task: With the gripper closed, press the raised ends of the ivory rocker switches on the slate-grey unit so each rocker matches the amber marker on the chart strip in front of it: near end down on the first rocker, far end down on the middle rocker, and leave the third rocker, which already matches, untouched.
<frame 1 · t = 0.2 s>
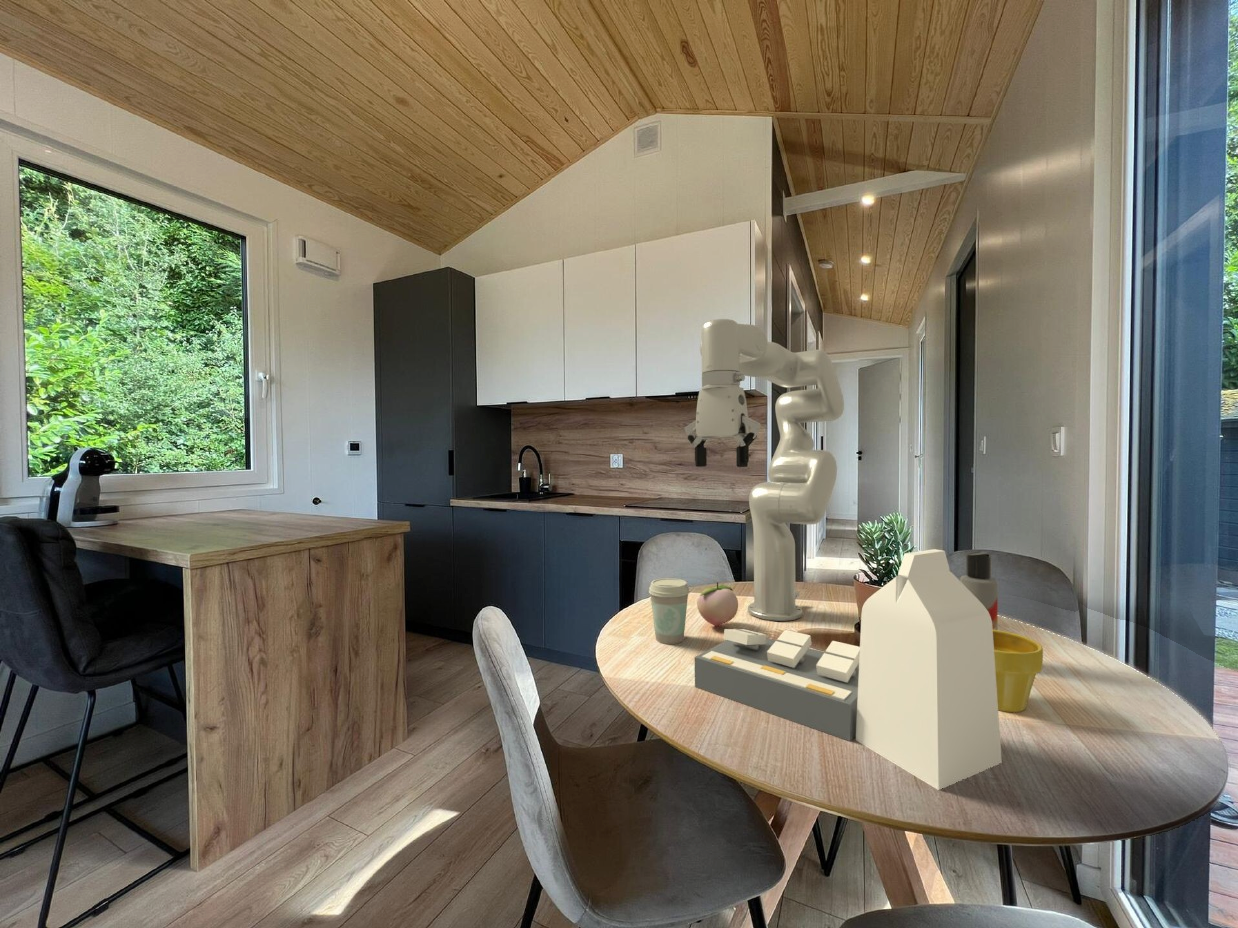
hand: (720, 466, 106), 36 cm above the table, tool pointing down, fingers open, 9 cm apart
rocker b: (789, 647, 85), point 7 cm above the table, hinge at 15.0°
milk: (925, 752, 67), on the table
decorative fruit: (719, 627, 116), on the table
rocker a: (745, 636, 90), point 7 cm above the table, hinge at -15.0°
coffee cup: (669, 640, 109), on the table
switch unit: (787, 692, 84), on the table
rocker c: (839, 660, 79), point 7 cm above the table, hinge at 15.0°
plant pot: (999, 703, 80), on the table
lotion bottle: (978, 660, 96), on the table
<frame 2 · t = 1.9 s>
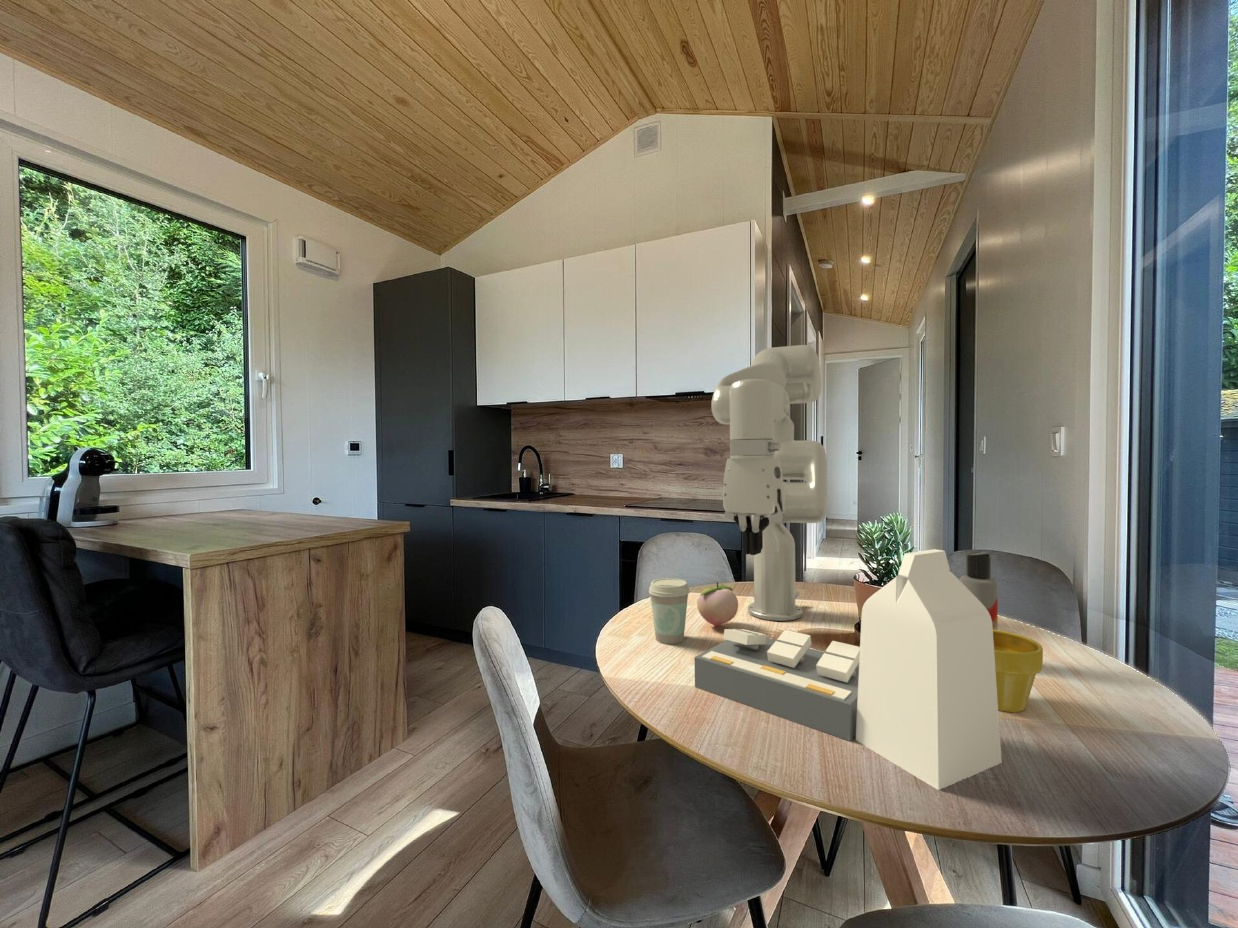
hand: (752, 553, 92), 21 cm above the table, tool pointing down, fingers closed
nothing on the table moved.
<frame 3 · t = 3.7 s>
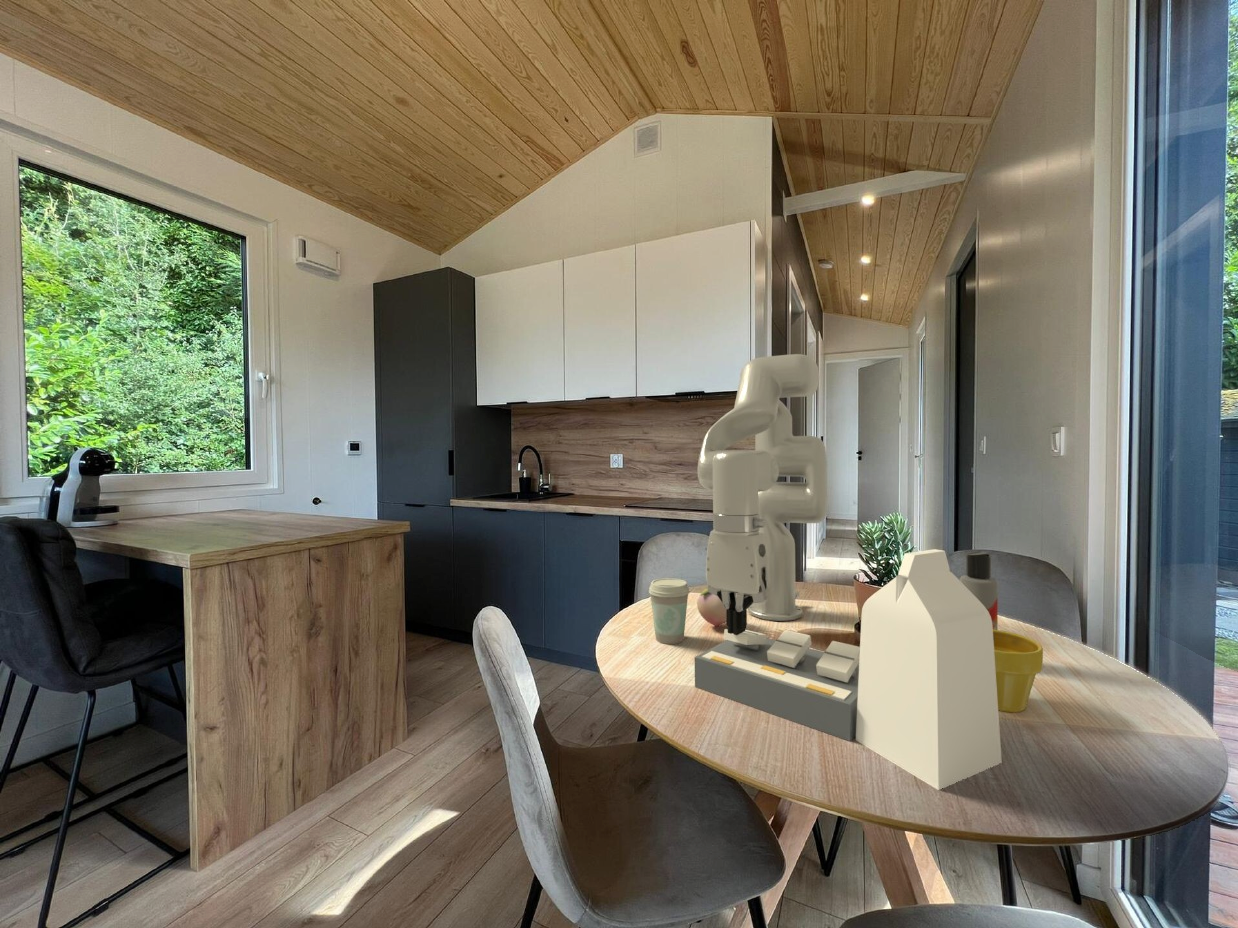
hand: (736, 631, 88), 9 cm above the table, tool pointing down, fingers closed
rocker a: (745, 636, 90), point 7 cm above the table, hinge at -15.0°, touching gripper
everything else where it was.
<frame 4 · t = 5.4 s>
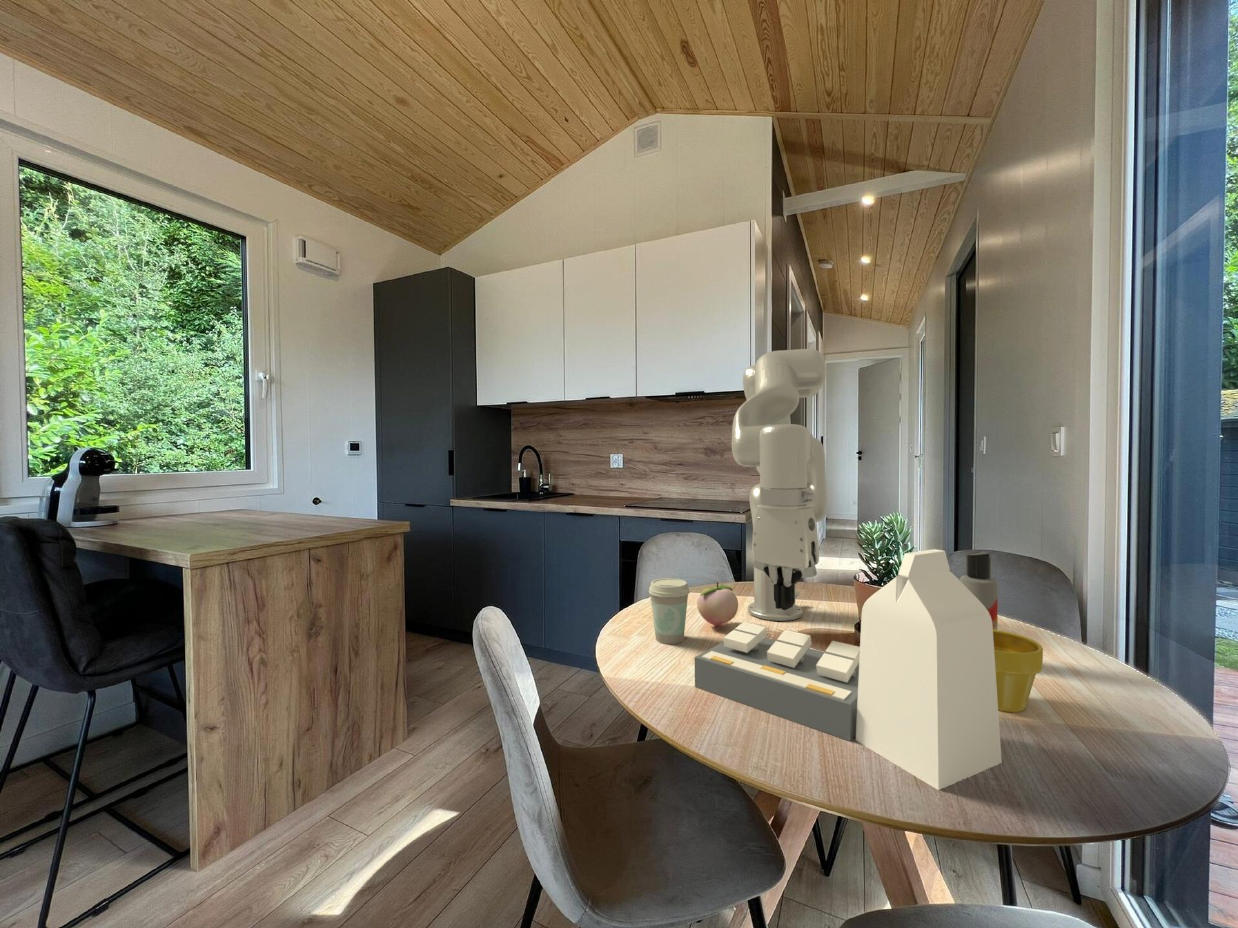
hand: (784, 607, 87), 13 cm above the table, tool pointing down, fingers closed
rocker a: (745, 636, 90), point 7 cm above the table, hinge at 7.7°
everything else where it was.
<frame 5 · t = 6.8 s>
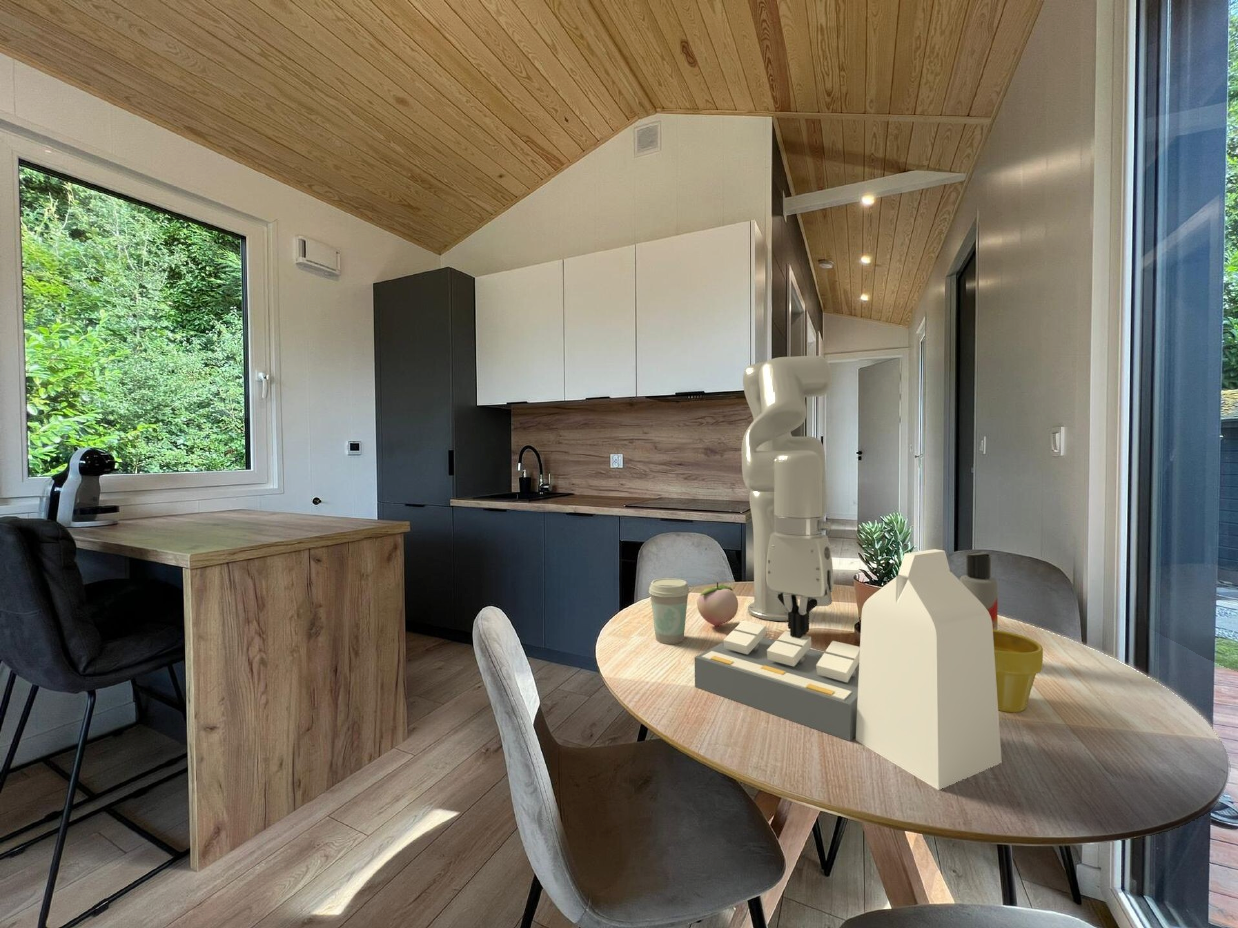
hand: (798, 634, 87), 8 cm above the table, tool pointing down, fingers closed
rocker b: (789, 647, 85), point 7 cm above the table, hinge at 10.8°, touching gripper
rocker a: (745, 636, 90), point 7 cm above the table, hinge at 13.7°
everything else where it was.
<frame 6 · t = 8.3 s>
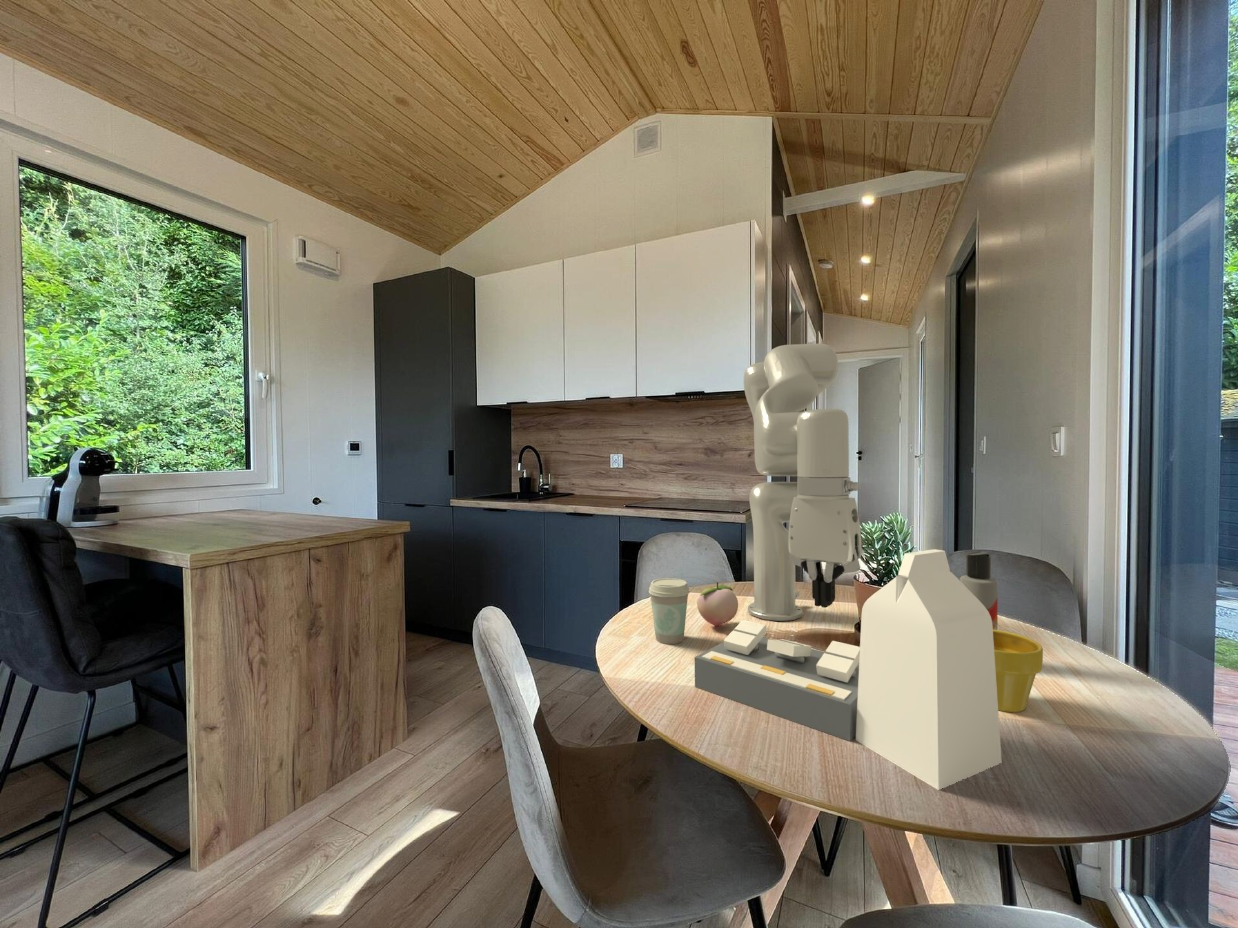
hand: (823, 604, 82), 15 cm above the table, tool pointing down, fingers closed
rocker b: (789, 647, 85), point 7 cm above the table, hinge at -16.5°
rocker a: (745, 636, 90), point 7 cm above the table, hinge at 15.9°
everything else where it was.
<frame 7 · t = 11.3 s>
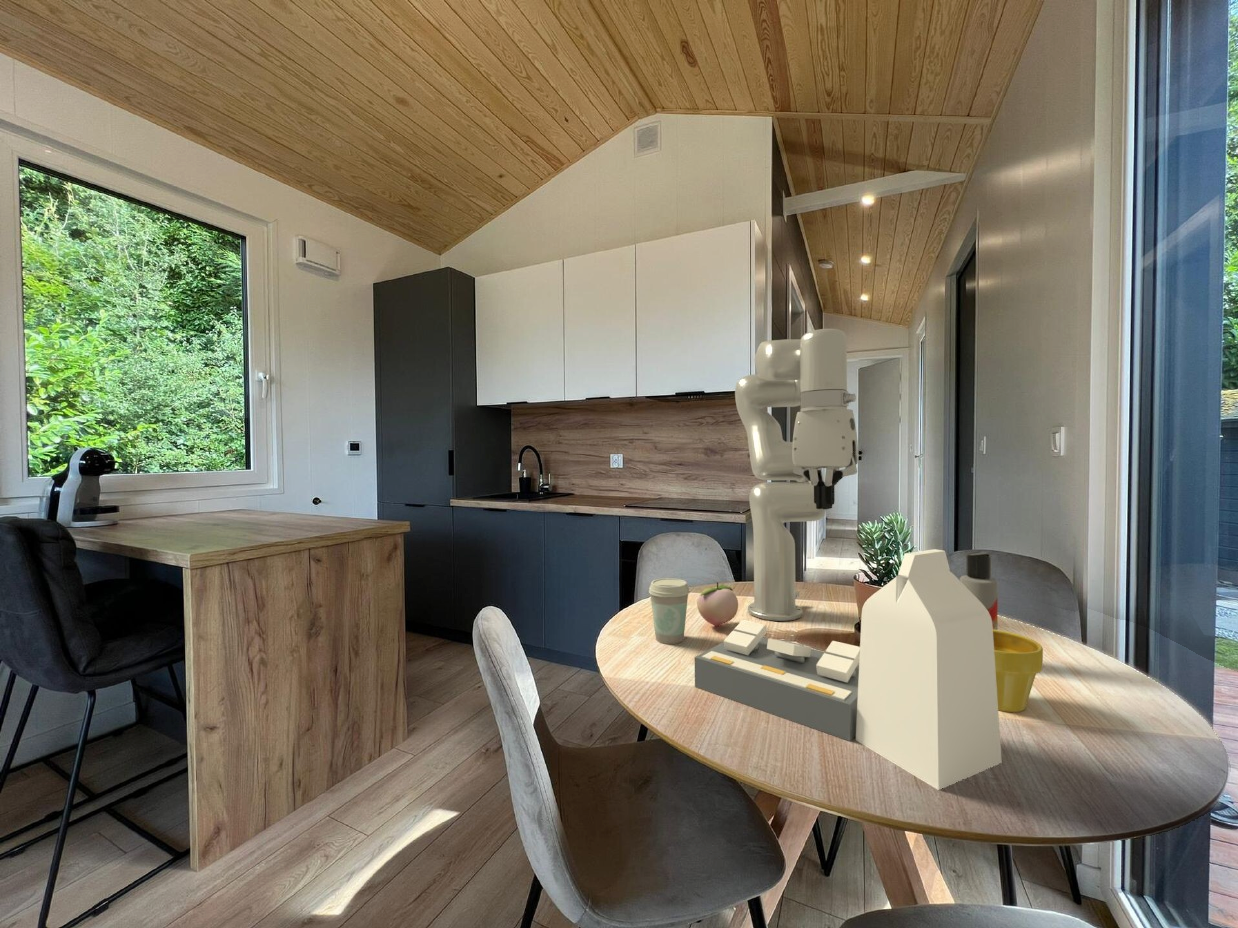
hand: (824, 508, 90), 29 cm above the table, tool pointing down, fingers closed
rocker b: (789, 647, 85), point 7 cm above the table, hinge at -18.8°
rocker a: (745, 636, 90), point 7 cm above the table, hinge at 16.8°
everything else where it was.
at the end: rocker a at +17° (first picture: -15°); rocker b at -19° (first picture: +15°); rocker c at +15° (first picture: +15°) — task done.
